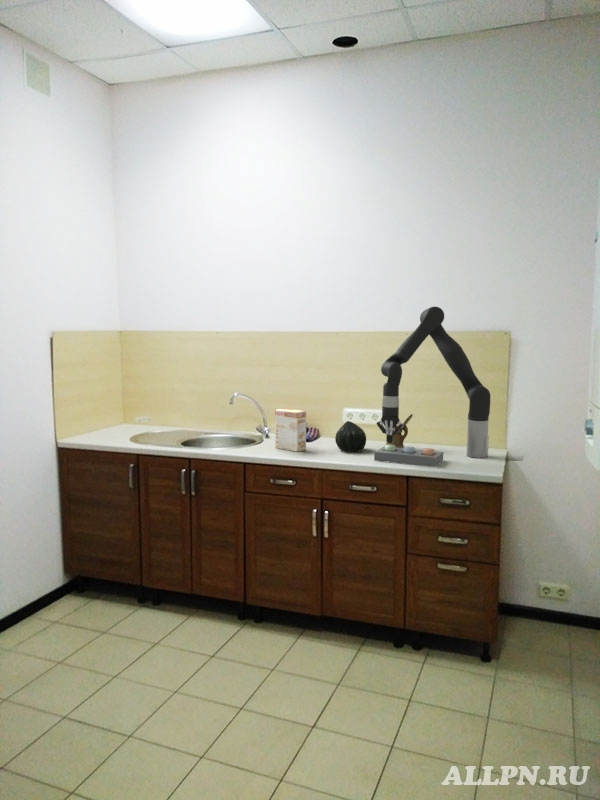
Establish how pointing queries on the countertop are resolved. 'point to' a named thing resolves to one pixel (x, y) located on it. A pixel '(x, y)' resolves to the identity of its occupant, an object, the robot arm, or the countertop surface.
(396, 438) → the wooden mug
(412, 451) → the slate button
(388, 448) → the sage button
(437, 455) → the button panel
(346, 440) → the squash
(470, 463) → the countertop surface
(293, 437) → the coffeecake box
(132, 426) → the countertop surface
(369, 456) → the countertop surface
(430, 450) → the terracotta button
